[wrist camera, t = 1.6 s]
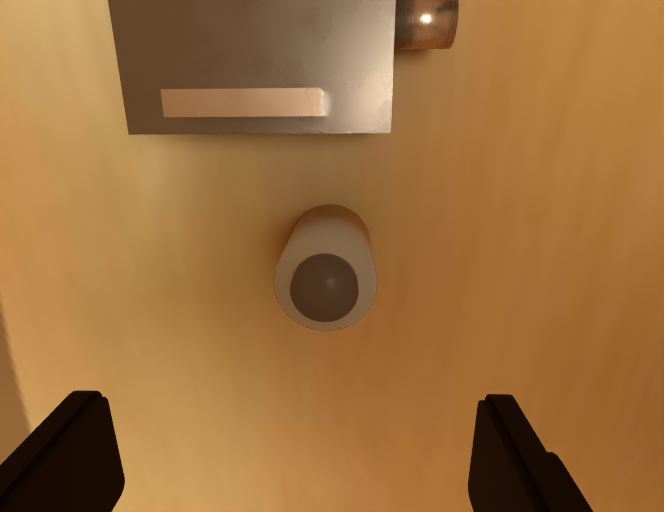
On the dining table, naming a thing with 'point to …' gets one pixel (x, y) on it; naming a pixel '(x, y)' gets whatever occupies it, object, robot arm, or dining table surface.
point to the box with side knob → (268, 62)
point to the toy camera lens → (326, 270)
